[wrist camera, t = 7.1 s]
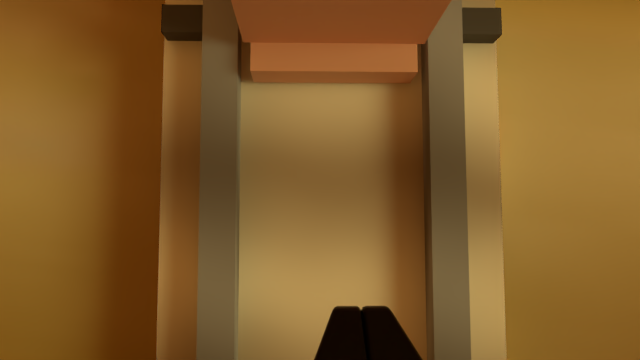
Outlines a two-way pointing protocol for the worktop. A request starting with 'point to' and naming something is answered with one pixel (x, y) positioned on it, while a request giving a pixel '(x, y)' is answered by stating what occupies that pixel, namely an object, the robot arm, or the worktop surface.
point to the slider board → (328, 195)
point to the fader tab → (336, 39)
